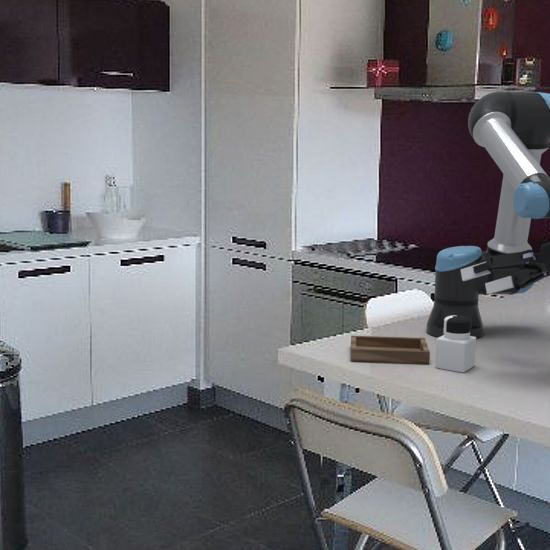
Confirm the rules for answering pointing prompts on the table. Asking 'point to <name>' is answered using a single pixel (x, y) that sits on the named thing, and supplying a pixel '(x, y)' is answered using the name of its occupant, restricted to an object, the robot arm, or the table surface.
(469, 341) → the medicine bottle
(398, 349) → the walnut tray
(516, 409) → the table surface
